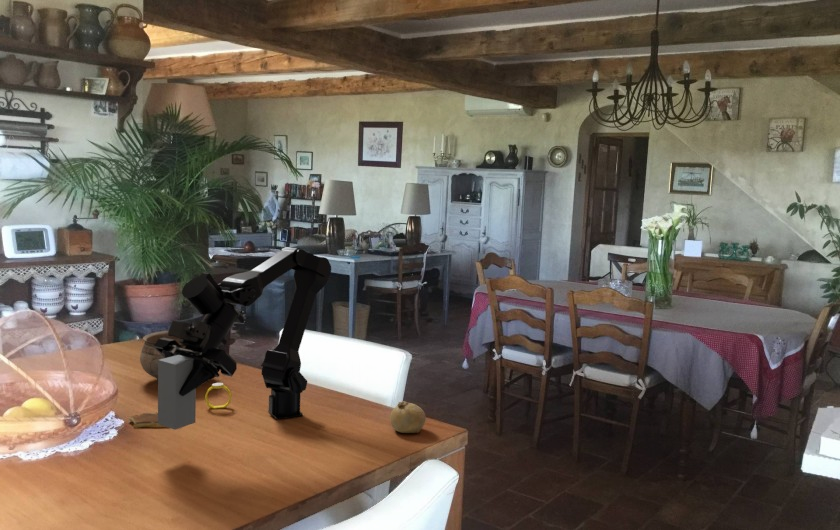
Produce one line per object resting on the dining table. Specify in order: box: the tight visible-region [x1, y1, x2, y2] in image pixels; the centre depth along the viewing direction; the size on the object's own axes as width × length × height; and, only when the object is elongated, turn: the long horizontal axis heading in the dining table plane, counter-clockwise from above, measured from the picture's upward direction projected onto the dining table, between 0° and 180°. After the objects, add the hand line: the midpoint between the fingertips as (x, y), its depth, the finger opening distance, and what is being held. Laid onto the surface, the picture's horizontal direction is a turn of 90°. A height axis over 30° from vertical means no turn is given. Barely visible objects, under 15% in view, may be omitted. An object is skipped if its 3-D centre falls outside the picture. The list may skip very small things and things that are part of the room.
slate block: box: [157, 355, 197, 431], centre depth 139 cm, size 5×5×13 cm
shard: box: [128, 412, 167, 429], centre depth 158 cm, size 11×8×2 cm
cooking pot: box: [139, 330, 185, 380], centre depth 191 cm, size 25×19×12 cm
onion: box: [389, 400, 427, 434], centre depth 160 cm, size 8×8×7 cm
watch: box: [204, 382, 232, 410], centre depth 171 cm, size 6×3×6 cm, turn 101°
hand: (171, 392), depth 138 cm, fingers closed on slate block, 5 cm apart
